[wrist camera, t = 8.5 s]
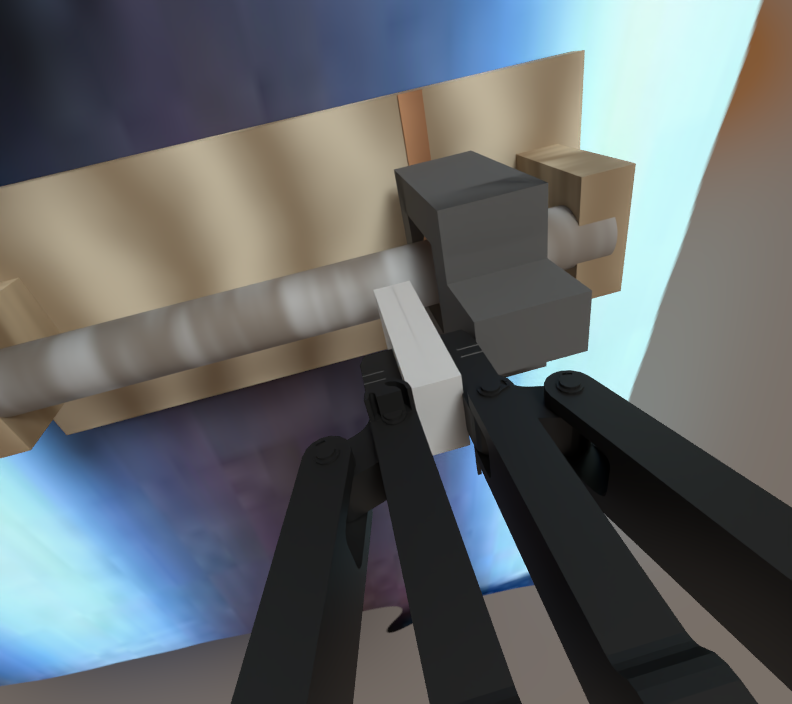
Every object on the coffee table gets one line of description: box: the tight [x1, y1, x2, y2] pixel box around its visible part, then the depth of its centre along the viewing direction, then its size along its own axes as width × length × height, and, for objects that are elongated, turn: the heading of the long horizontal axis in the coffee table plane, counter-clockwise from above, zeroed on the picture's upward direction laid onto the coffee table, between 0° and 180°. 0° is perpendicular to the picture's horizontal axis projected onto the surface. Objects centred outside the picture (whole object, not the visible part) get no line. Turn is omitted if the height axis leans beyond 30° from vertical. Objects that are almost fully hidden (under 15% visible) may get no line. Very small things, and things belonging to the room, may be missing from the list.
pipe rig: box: [0, 50, 636, 458], centre depth 22 cm, size 34×14×8 cm, turn 101°
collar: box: [394, 151, 592, 377], centre depth 19 cm, size 4×8×11 cm, turn 11°
